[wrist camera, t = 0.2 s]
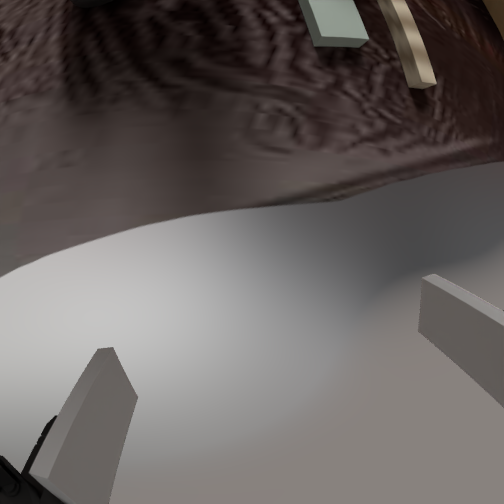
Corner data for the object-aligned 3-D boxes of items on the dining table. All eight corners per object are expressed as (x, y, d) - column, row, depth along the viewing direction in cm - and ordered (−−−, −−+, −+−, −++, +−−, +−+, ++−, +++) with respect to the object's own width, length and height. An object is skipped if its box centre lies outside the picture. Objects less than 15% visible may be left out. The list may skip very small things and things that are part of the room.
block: (297, 1, 32) (303, -12, 28) (341, 3, 32) (349, -8, 28) (313, 47, 34) (321, 36, 30) (358, 48, 34) (368, 39, 31)
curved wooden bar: (368, -17, 30) (377, -27, 26) (383, -14, 30) (392, -22, 27) (408, 87, 36) (422, 81, 32) (423, 88, 37) (436, 84, 33)
